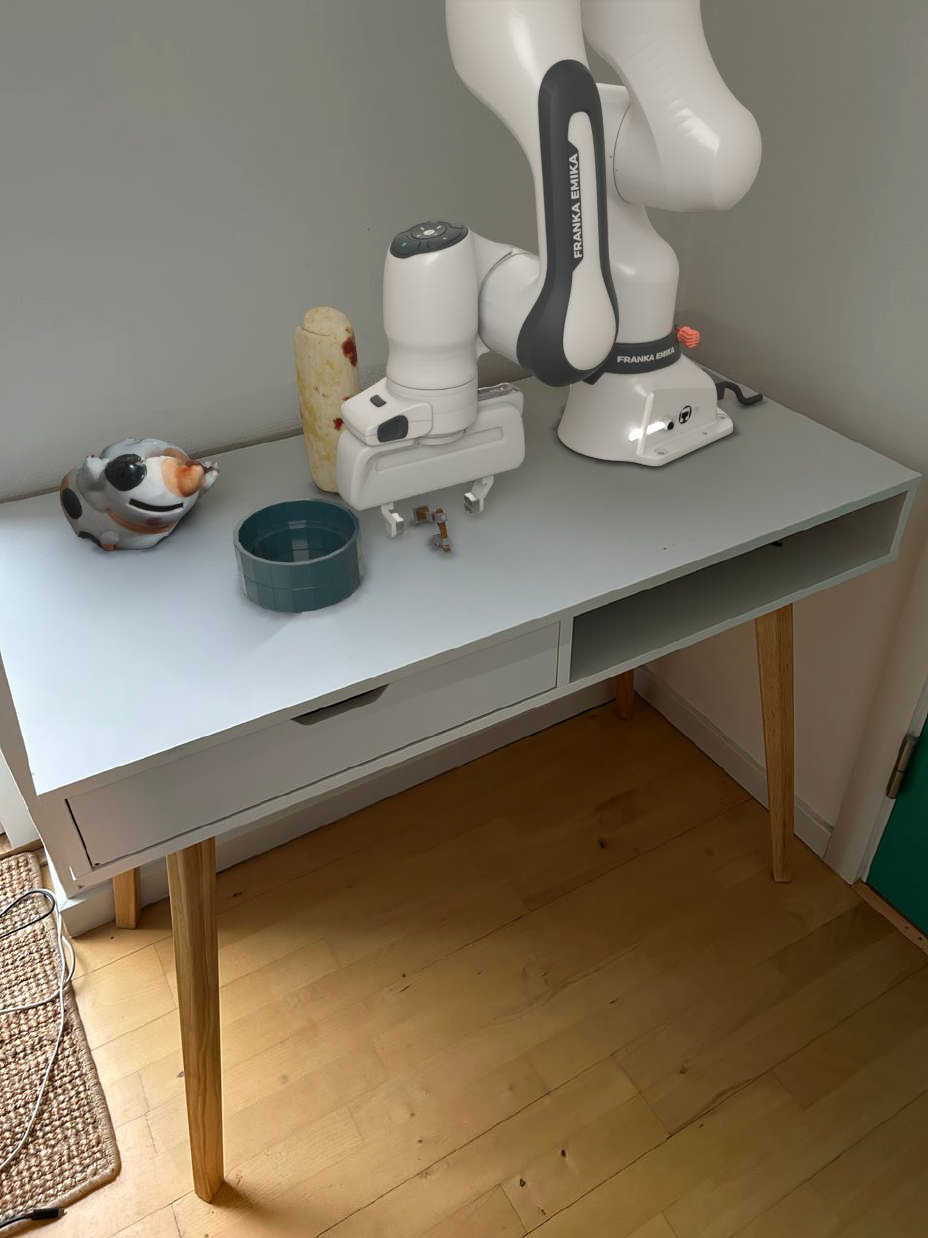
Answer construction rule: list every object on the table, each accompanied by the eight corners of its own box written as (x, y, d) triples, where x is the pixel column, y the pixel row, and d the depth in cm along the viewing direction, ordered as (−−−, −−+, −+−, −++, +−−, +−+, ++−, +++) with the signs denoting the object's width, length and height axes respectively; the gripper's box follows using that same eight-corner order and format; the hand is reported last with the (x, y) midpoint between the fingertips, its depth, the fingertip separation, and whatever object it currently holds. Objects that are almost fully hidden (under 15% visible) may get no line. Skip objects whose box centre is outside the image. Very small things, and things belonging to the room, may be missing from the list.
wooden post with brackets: (442, 554, 101) (435, 511, 100) (418, 545, 109) (411, 505, 108) (458, 550, 102) (451, 507, 101) (434, 542, 109) (427, 501, 108)
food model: (380, 494, 113) (369, 324, 101) (324, 506, 111) (306, 334, 99) (352, 457, 120) (339, 294, 108) (299, 468, 118) (279, 303, 106)
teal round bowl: (336, 536, 106) (331, 487, 102) (383, 594, 98) (380, 543, 94) (226, 566, 101) (217, 516, 98) (265, 630, 93) (257, 578, 89)
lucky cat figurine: (192, 482, 115) (217, 399, 105) (206, 566, 110) (234, 488, 99) (54, 474, 108) (66, 384, 98) (61, 564, 103) (75, 479, 92)
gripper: (507, 368, 102) (504, 485, 111) (324, 408, 94) (335, 531, 103) (539, 390, 98) (533, 510, 106) (350, 434, 90) (360, 561, 98)
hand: (434, 521), depth 104 cm, fingers open, 8 cm apart
